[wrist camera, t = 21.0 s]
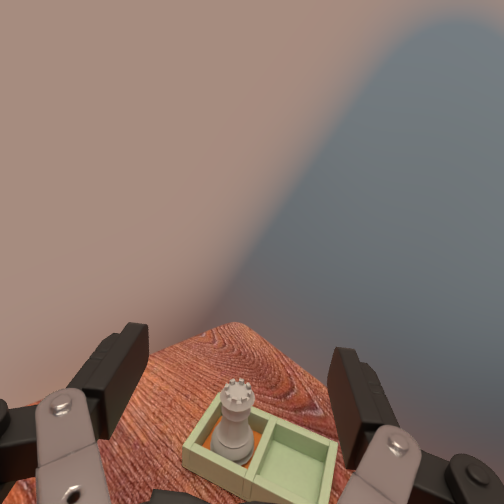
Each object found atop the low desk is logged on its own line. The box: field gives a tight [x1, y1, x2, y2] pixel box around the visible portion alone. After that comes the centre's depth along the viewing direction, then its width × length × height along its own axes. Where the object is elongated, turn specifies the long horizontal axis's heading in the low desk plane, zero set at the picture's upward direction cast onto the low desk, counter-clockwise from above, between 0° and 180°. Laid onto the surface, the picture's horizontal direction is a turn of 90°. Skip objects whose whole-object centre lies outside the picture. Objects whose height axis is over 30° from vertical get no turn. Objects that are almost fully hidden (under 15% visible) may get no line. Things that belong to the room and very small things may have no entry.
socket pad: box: [182, 392, 338, 504], centre depth 30 cm, size 13×7×3 cm, turn 67°
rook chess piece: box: [210, 378, 255, 466], centre depth 30 cm, size 4×4×8 cm
